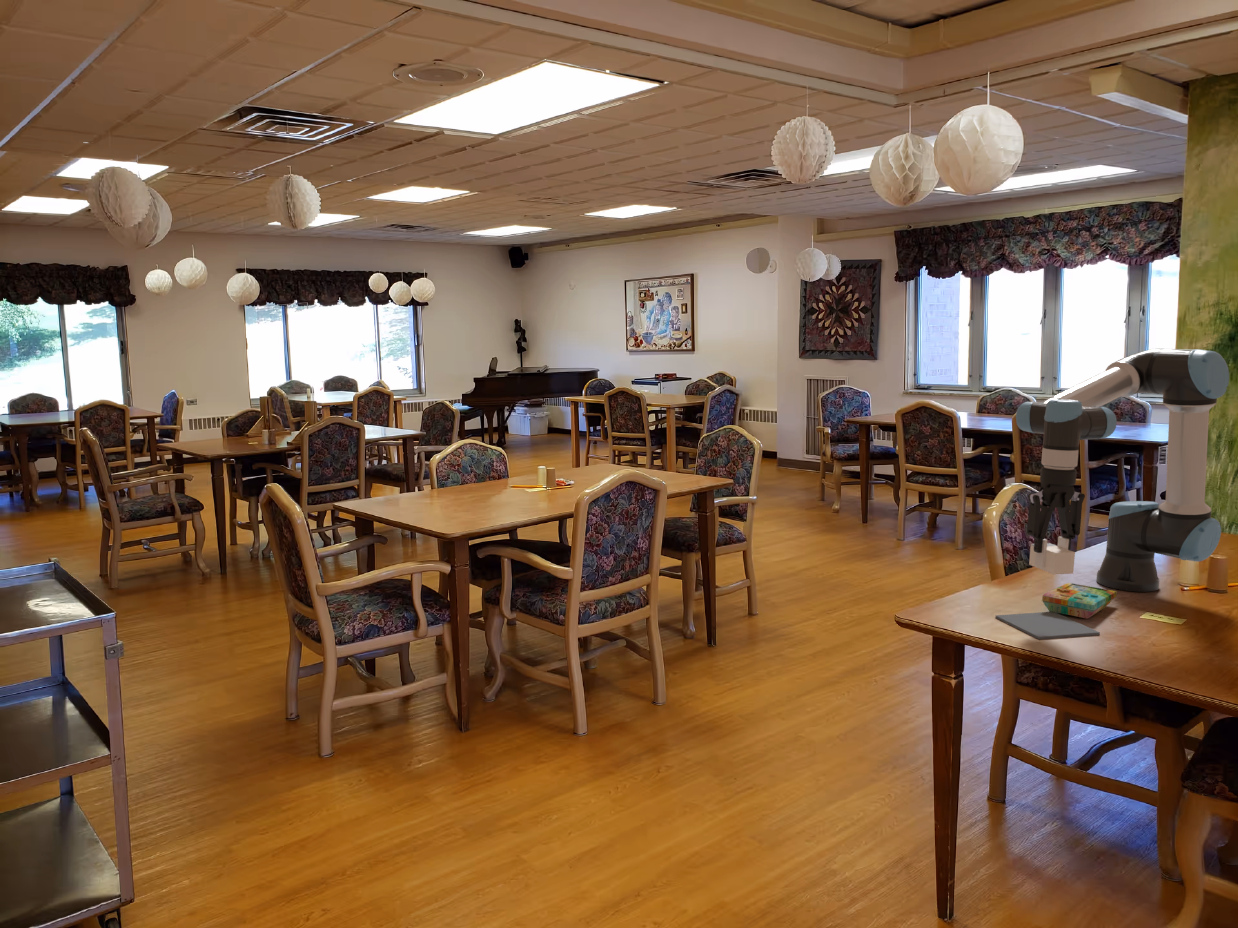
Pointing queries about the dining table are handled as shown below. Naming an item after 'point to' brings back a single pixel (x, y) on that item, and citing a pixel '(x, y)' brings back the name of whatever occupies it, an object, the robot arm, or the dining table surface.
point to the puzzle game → (1078, 600)
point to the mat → (1047, 625)
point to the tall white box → (1055, 559)
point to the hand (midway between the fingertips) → (1050, 565)
